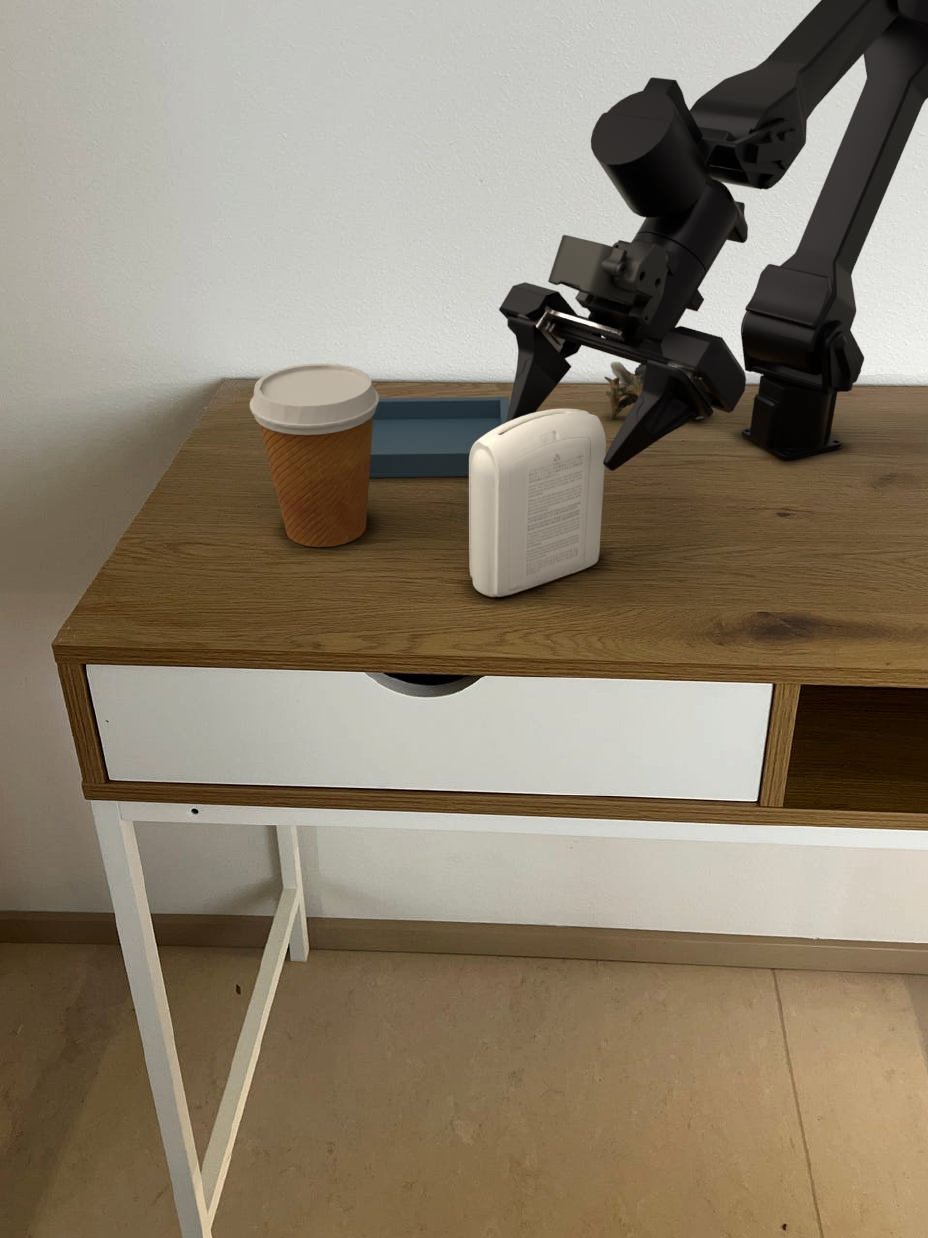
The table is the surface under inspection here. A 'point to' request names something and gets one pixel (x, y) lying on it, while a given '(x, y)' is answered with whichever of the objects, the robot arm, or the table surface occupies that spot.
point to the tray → (430, 434)
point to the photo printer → (535, 500)
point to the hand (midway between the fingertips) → (557, 447)
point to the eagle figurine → (625, 387)
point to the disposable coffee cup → (318, 448)
